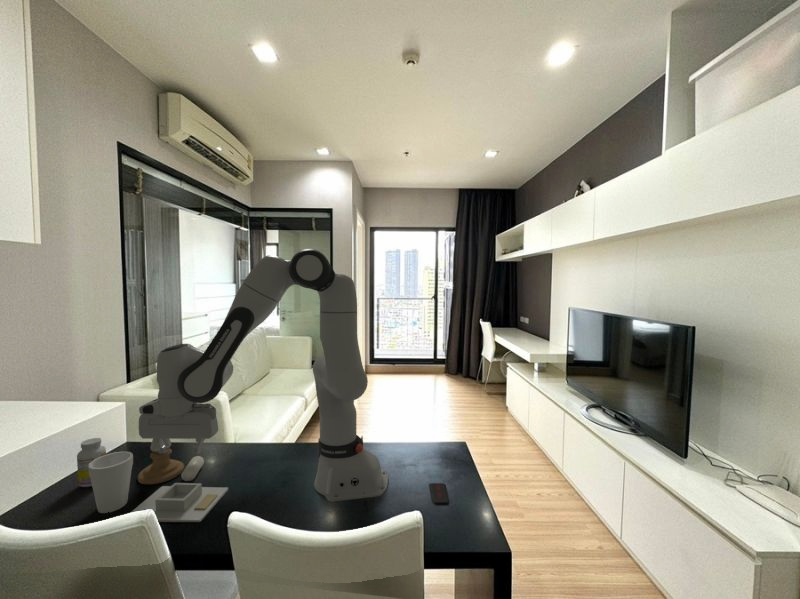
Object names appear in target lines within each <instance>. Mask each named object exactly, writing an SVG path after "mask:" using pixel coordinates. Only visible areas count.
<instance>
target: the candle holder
mask: <svg viewBox="0 0 800 599" xmlns="http://www.w3.org/2000/svg"><path fill="white" fill-rule="evenodd" d="M163 441H164V443H165V445H168V452H166V453H162V454H159V448H158V447H157V446H156V444H155V443H154V439H152V441H151V444H150V450H151V451H152V452H151V453H150V455H149V458H151V459H152V463H151V464H149V465H148V466H146V467H145V468H143V469H142V470H141V471H140V472H138V473H139V474H138V475H137V481H138V483H140V484H141V485H158V484H161V483H165V482H168V481H171V480H172V479H174V478H177V477H178V476H179V475H181V474H182V472H183V471H184V469H185V464H184V463H183V462H182V461H180V460H177V459H171V457H170V455H171V454H172V452H173V450H172V449H171V446H172V440H171V439H163Z"/></svg>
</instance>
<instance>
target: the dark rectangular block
mask: <svg viewBox="0 0 800 599" xmlns="http://www.w3.org/2000/svg"><path fill="white" fill-rule="evenodd" d="M428 488H429V493H430V494H429V495H430V499H431V503H432V504H433V505H449V504H450V498H449V493H448V487H447V484H445V483H444V482H439V483H437V482H433V483H432V482H431V483H430V482H429V483H428Z"/></svg>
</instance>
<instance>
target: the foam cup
mask: <svg viewBox="0 0 800 599" xmlns="http://www.w3.org/2000/svg"><path fill="white" fill-rule="evenodd" d="M133 465H134V454H133V453H132V452H130V451H118V452H116V451H114V452H110V453H108V454H107V453H106V455H104V456H101V457H99V458H97V459H94V460H93V461H92V462H91V463H89V476H90V478H91V483H92V486H91V487H92V492H93V496H94V500H95V504H96V505H95V506H96V509H97V512H98V513H100V514H108V512H109V513H113V512H115V511H117V510H120V509H121V508H123V507H125V506H126V504H128V499H129V492H130V484H131V476H132V468H133Z"/></svg>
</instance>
